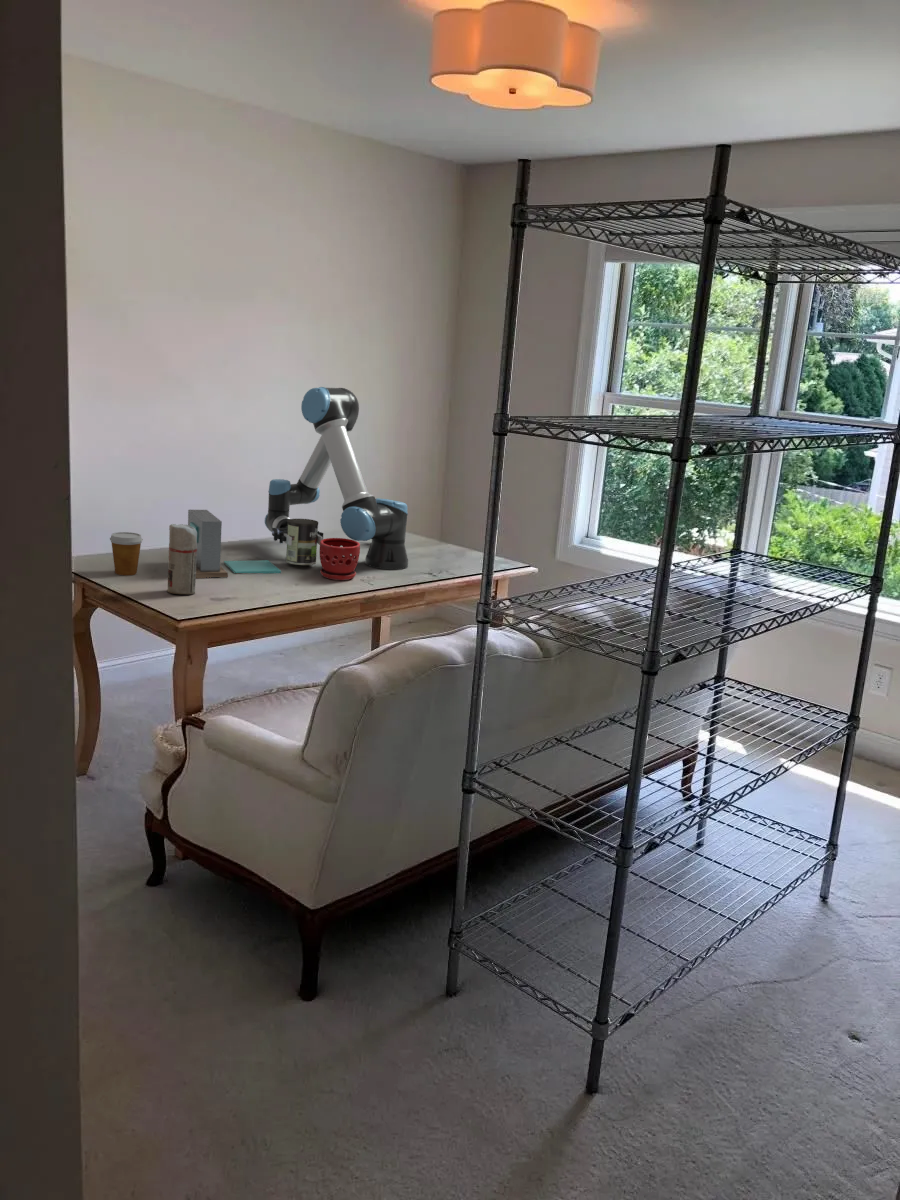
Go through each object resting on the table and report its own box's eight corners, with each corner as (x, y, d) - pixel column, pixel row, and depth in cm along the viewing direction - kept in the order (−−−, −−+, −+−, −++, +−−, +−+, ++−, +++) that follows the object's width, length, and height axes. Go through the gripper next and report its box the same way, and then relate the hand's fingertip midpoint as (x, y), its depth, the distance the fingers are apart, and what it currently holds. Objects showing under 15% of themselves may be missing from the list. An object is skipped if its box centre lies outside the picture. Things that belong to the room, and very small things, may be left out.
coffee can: (320, 561, 338) (322, 520, 334) (310, 566, 328) (312, 525, 324) (291, 557, 340) (293, 517, 336) (281, 563, 330) (282, 521, 326)
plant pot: (310, 574, 324) (312, 538, 321) (344, 571, 332) (347, 536, 329) (330, 583, 314) (333, 546, 311) (365, 580, 322) (368, 544, 319)
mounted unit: (227, 577, 309) (229, 522, 305) (195, 578, 305) (197, 522, 300) (209, 560, 330) (211, 508, 325) (179, 560, 325) (180, 508, 321)
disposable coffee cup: (148, 572, 306) (149, 534, 303) (129, 578, 297) (129, 539, 294) (122, 568, 309) (123, 530, 306) (102, 573, 300) (103, 534, 297)
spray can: (169, 587, 291) (171, 521, 286) (197, 589, 292) (199, 523, 287) (163, 595, 283) (165, 526, 278) (193, 597, 284) (195, 528, 279)
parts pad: (280, 573, 321) (281, 570, 321) (235, 574, 315) (235, 571, 315) (267, 562, 334) (268, 560, 334) (223, 563, 328) (223, 560, 327)
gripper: (316, 538, 353) (337, 551, 334) (254, 539, 343) (272, 552, 324) (317, 518, 351) (338, 530, 332) (255, 517, 341) (273, 530, 322)
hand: (306, 541), depth 328 cm, fingers closed on coffee can, 10 cm apart
